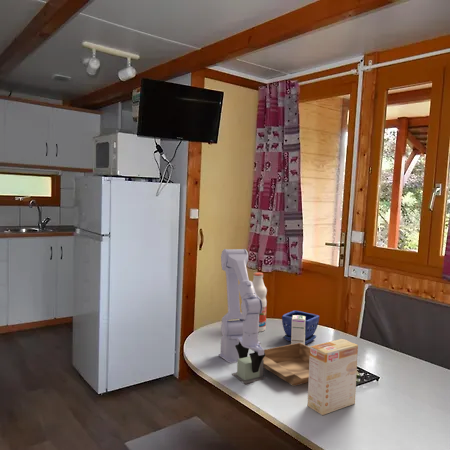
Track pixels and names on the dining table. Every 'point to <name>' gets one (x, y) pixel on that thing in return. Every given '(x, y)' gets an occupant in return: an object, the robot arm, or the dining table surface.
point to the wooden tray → (289, 362)
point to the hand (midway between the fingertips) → (249, 368)
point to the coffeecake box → (332, 376)
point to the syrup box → (298, 329)
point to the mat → (249, 379)
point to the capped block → (248, 369)
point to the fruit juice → (261, 292)
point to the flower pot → (309, 321)
